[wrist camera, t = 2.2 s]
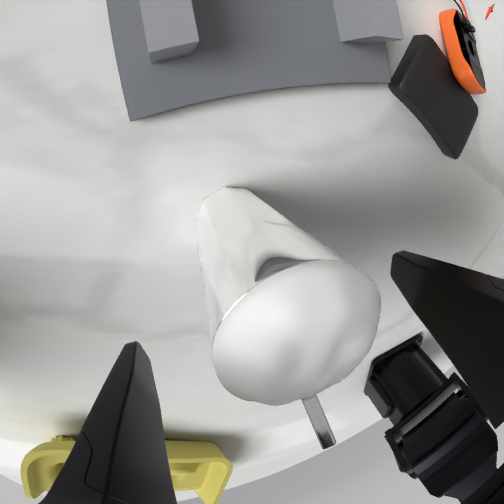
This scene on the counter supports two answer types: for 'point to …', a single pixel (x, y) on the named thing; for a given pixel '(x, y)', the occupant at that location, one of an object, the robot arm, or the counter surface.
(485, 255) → the counter surface
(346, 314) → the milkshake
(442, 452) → the robot arm
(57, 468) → the plastic component
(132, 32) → the header socket
